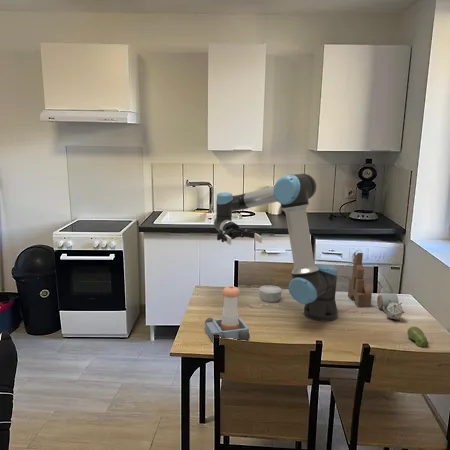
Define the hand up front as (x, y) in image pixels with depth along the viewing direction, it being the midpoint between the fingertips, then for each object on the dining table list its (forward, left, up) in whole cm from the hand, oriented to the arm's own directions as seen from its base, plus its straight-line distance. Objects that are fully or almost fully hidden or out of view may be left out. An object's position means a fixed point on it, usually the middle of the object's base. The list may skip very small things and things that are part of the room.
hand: (245, 240), depth 181 cm
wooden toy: (-40, -50, -36) cm, 74 cm away
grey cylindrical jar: (-54, -46, -36) cm, 80 cm away
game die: (-58, -36, -36) cm, 77 cm away
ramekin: (-1, -30, -36) cm, 47 cm away
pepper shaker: (0, +13, -35) cm, 37 cm away
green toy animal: (-69, -18, -36) cm, 80 cm away
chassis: (0, +15, -36) cm, 39 cm away
